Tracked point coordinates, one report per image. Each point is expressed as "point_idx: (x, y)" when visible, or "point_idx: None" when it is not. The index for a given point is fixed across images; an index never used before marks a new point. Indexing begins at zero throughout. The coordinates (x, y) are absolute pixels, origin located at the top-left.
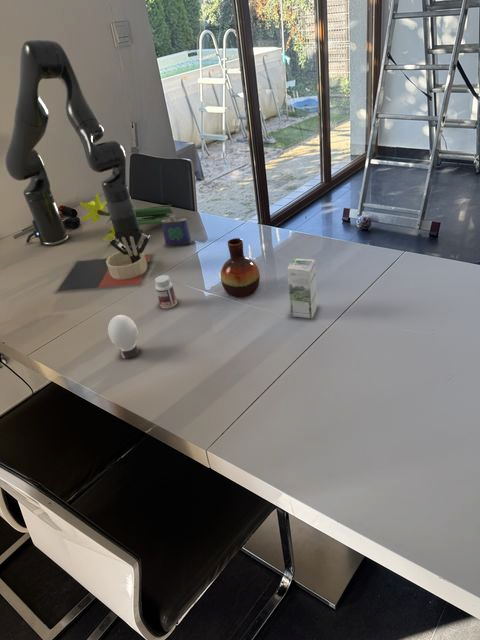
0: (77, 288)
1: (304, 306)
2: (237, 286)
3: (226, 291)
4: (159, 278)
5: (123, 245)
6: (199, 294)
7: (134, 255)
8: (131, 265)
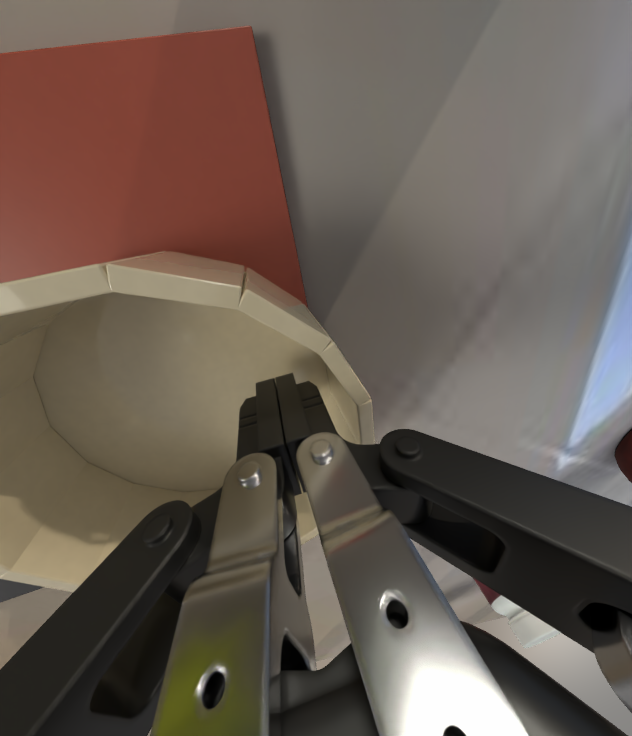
0: (21, 589)
1: None
2: None
3: (628, 478)
4: (541, 638)
5: (87, 661)
6: (545, 468)
7: (303, 483)
8: (317, 529)
